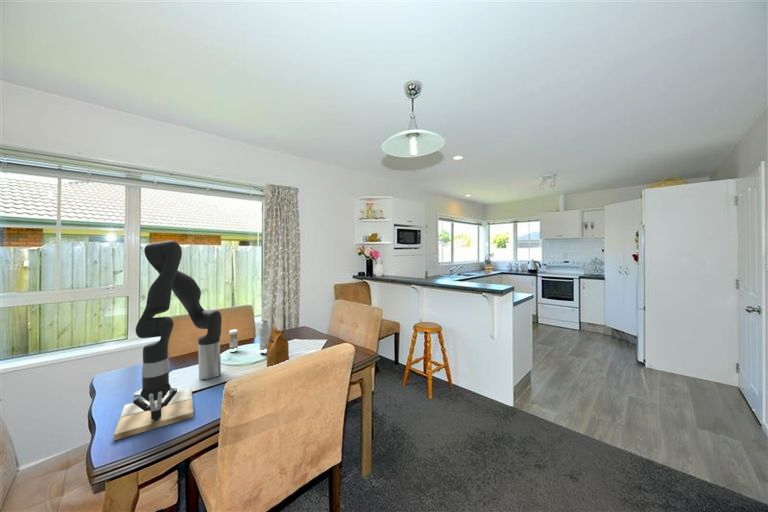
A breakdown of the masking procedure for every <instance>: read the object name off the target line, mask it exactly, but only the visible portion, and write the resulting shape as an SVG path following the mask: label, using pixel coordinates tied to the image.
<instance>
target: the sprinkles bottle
mask: <svg viewBox="0 0 768 512" xmlns="http://www.w3.org/2000/svg"><path fill="white" fill-rule="evenodd" d="M238 331H239V330H238V329H231V330H229V333H228V334H229V350H230V349H234V348H237V349H238V341H239V340H238V333H239V332H238Z"/></svg>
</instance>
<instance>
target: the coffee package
mask: <svg viewBox="0 0 768 512" xmlns="http://www.w3.org/2000/svg"><path fill="white" fill-rule="evenodd" d="M284 333H285V331H284V330H281V329H278V328H277V327H276V326H273V327H272V330H271V331H270V337H269V340H268V345H267V354H265V355H266V368H267V367H269V366H273V365H276V364H279V363H281V362H284V361H286V360H289V361H290V356H289V350H290V349H289V346H290V345H289V341H288V339H287V338H286V337H285V335H284Z"/></svg>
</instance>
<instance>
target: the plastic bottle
mask: <svg viewBox="0 0 768 512" xmlns="http://www.w3.org/2000/svg"><path fill="white" fill-rule="evenodd" d="M258 333H259V349H260V350H264V349H267V345H268V340H269V337H270V335H271V327H270V326H269V321H268V320H262V321H261V323H260V327H259V329H258Z"/></svg>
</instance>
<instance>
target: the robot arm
mask: <svg viewBox="0 0 768 512" xmlns="http://www.w3.org/2000/svg"><path fill="white" fill-rule="evenodd" d="M143 251H144V256H145V258H146V260H147V261H148V262H149V264H150V265H151V266H152V268H153V269H154V270H156V272H157V273H158V274H159V275H158V276H157V277H156V279H155V280H154V281H153V283H152V284H151V285H150V287H149V289H148V292H147V296H146V304H145V308H144V310H143V313H142V314H141V316H140V318H139V320H138V321H137V324H136V325H135V326H136V327H135V330H134V331H135V335H136V336H137V337H138V338H139V339H150V338H158V337H160V339H159V340H158V341H154V342H152V343H148V344H146V345H145V346H144V347H143V348H142V366H141V375H142V376H141V381H142V382H141V386H142V389H141V391H140V394H139V395H138V396H137V397H134V398H133V400H132V403H134V404H135V405H137V406H138V407H139V408H141V409H142V410H144V411H151V419H152V420H153V419H154V421H156V420H159V418H161V409H162V407H165V406H167V404H168V403H169V402H170V401H171V399H172V398H173V397H174V396H175V394H176V393H177V392H178V388H175V387H171V384H170V373H169V372H170V366H169V358H168V357H169V351H168V350H169V342H170V339H171V338H170V337H171V335H172V332H173V328H174V324H175V323H174V320H173V319H172V318H171V317H170V316H160V317H158V316H157V317H155V316H156V315H159V314H163V313H167V312H168V311H169V310H170V306H171V301H172V300H171V299H172V298H171V297H172V292H173V294H174V295H175V296H176V298H177V299H178V301H180V303H181V304H182V306H183V308H184V309H185V310H186V312H187V313H188V316H189V317H190V320H191V322H192V324H193V325H194V327H196V328H197V329H200V330H206V331H207V333H206V334H203V335H202V336H200V337H198V339H197V340H198V342H197V344H198V345H197V346H198V350H197V351H198V352H197V353H198V379H199V378H200V380H202V379H206V380H210V379H209V378H212V379H214V378H213V377H215V376H217V375H219V376H221V375H222V364H221V363H222V360H221V357H222V356H221V339H220V338H221V334H222V314H221V312H220V311H219V310H215V309H214V310H212V309H211V310H209V309H207V310H206V309H204V308H203V306H201V305H202V304H200V300H201V295H202V290H201V288H200V286H199V285H198V283H197V282H196V280H195V279H194V278H193V277H192V276H190V275H188V274H186V273H184V272H183V271H181V270H179V267H180V263H181V261H182V257H183V256H182V255H183V252H182V251H183V250H182V247H181V245H180V243H179V242H177V241H175V240H164V241H160V242H159V241H158V242H151V243H149V244H146V246H145V247H144V249H143ZM220 374H221V375H220ZM217 377H218V376H217ZM215 378H216V377H215ZM167 394H169V396H168V397H167V398H166V399H165V401H164V402H162V398H164V397H165V395H167ZM143 399H144V400H147V401H148V402H150V406H149V405H148V404H146V403H145V402H143ZM155 400H157V409H156V406H155Z"/></svg>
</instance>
